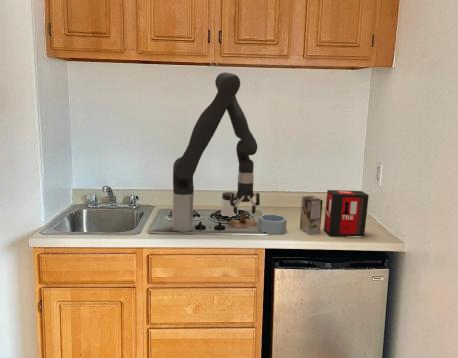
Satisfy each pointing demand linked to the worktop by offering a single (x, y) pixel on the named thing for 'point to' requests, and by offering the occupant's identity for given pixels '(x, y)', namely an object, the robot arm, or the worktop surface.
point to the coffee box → (311, 214)
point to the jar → (227, 205)
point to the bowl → (272, 224)
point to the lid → (242, 222)
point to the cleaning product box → (345, 213)
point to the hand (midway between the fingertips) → (244, 213)
